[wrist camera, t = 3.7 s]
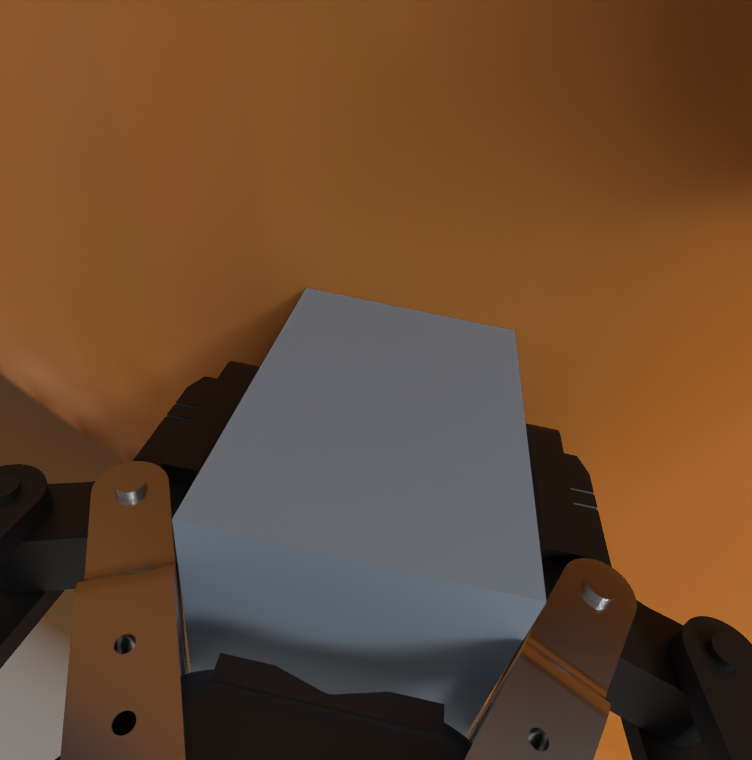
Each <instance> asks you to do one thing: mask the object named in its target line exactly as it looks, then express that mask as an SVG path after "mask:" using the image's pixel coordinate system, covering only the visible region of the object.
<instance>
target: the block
mask: <svg viewBox="0 0 752 760" xmlns="http://www.w3.org/2000/svg"><path fill="white" fill-rule="evenodd" d="M172 523H173V531H174V538H175V546H176V554H177V562H178V569H179V577H180V585H181V593H182V601H183V608H184V616H185V624H186V632H187V640H188V647H189V655H190V663H191V671H192V672H196V671H202V670H211V669H214V668H215V666H216V663H217V661H218V658H219V655H220V653H224V654H228V655H233V656H237V657H241V658H246V659H250V660H254V661H259V662H263V663H267V664H272V665H275V666H277V667H279V668H281V669H283V670H284V671H286V672H288V673H290V674H292V675H293V676H295V677H297V678H299V679H301V680H303V681H304V682H306V683H308V684H310V685H312V686H313V687H315V688H317V689H319V690H321V691H322V692H325V693H327V694H351V693H370V692H388V691H389V692H393V693H398V694H402V695H407V696H411V697H415V698H420V699H424V700H428V701H433V702H437V703H441V704H445V707H444V723H446V724H448V725H449V726H451V727H453V728H454V729H456V730H457V731H458V732H460V733H461V734H462V735H464V736H465V734H466V732H467V731H468V729H469V728H470V726H471V724H472V723H473V721H474V719H475V718H476V716H477V715H478V713H479V711H480V709H481V708H482V706H483V705H484V703H485V702H486V700H487V698H488V697H489V695H490V693H491V692H492V690H493V689H494V687H495V685H496V684H497V682H498V680H499V679H500V677H501V675H502V674H503V672H504V671H505V669H506V667H507V666H508V664H509V662H510V661H511V659H512V658H513V656H514V654H515V653H516V651H517V649H518V648H519V646H520V645H521V643H522V641H523V640H524V638H525V636H526V635H527V633H528V632H529V630H530V628H531V627H532V625H533V623H534V622H535V620H536V619H537V617H538V615H539V614H540V612H541V610H542V609H543V607H544V606H545V604H546V594H545V585H544V577H543V568H542V560H541V551H540V542H539V534H538V525H537V517H536V508H535V500H534V491H533V483H532V474H531V466H530V457H529V448H528V440H527V431H526V423H525V414H524V406H523V397H522V389H521V380H520V372H519V363H518V354H517V346H516V337H515V330H510V329H505V328H500V327H496V326H491V325H486V324H481V323H476V322H471V321H466V320H461V319H457V318H452V317H447V316H442V315H437V314H432V313H427V312H422V311H417V310H413V309H408V308H403V307H398V306H393V305H388V304H383V303H378V302H374V301H369V300H364V299H359V298H354V297H349V296H344V295H339V294H334V293H330V292H325V291H320V290H315V289H310V288H306V289H305V291H304V292H303V294H302V296H301V298H300V299H299V301H298V303H297V305H296V306H295V308H294V310H293V311H292V313H291V315H290V317H289V318H288V320H287V322H286V324H285V325H284V327H283V329H282V330H281V332H280V334H279V336H278V337H277V339H276V341H275V342H274V344H273V346H272V348H271V349H270V351H269V353H268V355H267V356H266V358H265V360H264V361H263V363H262V365H261V367H260V368H259V370H258V372H257V374H256V375H255V377H254V379H253V380H252V382H251V384H250V386H249V387H248V389H247V391H246V392H245V394H244V396H243V398H242V399H241V401H240V403H239V405H238V406H237V408H236V410H235V411H234V413H233V415H232V417H231V418H230V420H229V422H228V424H227V425H226V427H225V429H224V430H223V432H222V434H221V436H220V437H219V439H218V441H217V442H216V444H215V446H214V448H213V449H212V451H211V453H210V455H209V456H208V458H207V460H206V461H205V463H204V465H203V467H202V468H201V470H200V472H199V474H198V475H197V477H196V479H195V480H194V482H193V484H192V486H191V487H190V489H189V491H188V492H187V494H186V496H185V498H184V499H183V501H182V503H181V505H180V506H179V508H178V510H177V511H176V513H175V515H174V517H173V518H172Z"/></svg>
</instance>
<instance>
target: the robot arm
mask: <svg viewBox="0 0 752 760" xmlns="http://www.w3.org/2000/svg"><path fill="white" fill-rule="evenodd" d="M259 368H260V367H258V366H254V365H249V364H244V363H239V362H235V361H230V362H229V363H228V364H227V365H226V367H225V368H224V370H223V371H222V373H221V374H220V376H219V377H218V379H214V378H210V377H203V378H202V379H200V380H198V381H197V382H195V383H193V384H192V385H190V386H189V387H187V388H186V390H185V391H184V392H183V394H182V395H181V396H180V398H179V399H178V400H177V402H176V405H174V406H173V407H172V409H171V410H170V411H169V413H168V416H167V417H165V418H164V419H163V421H162V422H161V423H160V425H159V426H158V428H157V429H156V430H155V432H154V433H153V434H152V436H151V437H150V438H149V440H148V441H147V442H146V444H145V445H144V447H143V448H142V449H141V451H140V452H139V453H138V455H137V456H136V457H135V459H134V460H133V461H131V462H126V463H122V464H119V465H116V466H114V467H112V468H110V469H108V470H107V471H105V472H104V473H103V474H101V475H100V476H99V478H97V480H96V481H93V482H84V483H63V484H47V480H46V478H45V476H44V474H43V473H42V472H41V471H40V470H38V469H37V468H35V467H32V466H28V465H21V464H15V465H5V466H1V467H0V668H1V667H2V666H3V665H4V663H5V662H6V661H7V659H9V657H10V656H11V655H12V654H13V652H14V651H15V650H16V649H17V648H18V646H19V645H20V644H21V643H22V641H23V640H24V639H25V638H26V637H27V635H28V634H29V633H30V632H31V630H32V629H33V628H34V627H35V626H36V624H37V623H38V622H39V621H40V619H41V618H42V617H43V616H44V615H45V613H46V612H47V611H48V610H49V608H50V607H51V606H52V605H53V603H54V602H55V601H56V600H57V598H58V597H59V596H60V595H61V594H62V593H63V591H64V590H65V589H74V588H76V590H75V598H74V609H73V620H72V632H71V643H70V654H69V666H68V677H67V689H66V700H65V711H64V722H63V733H62V746H61V756H59V757H58V758H57V759H55V760H593V759H594V756H595V753H596V750H597V747H598V744H599V741H600V738H601V736H602V733H603V730H604V727H605V724H606V721H607V718H608V715H609V711H612V712H613V713H615V714H617V715H619V716H620V717H621V720H622V724H623V727H624V731H625V734H626V738H627V741H628V745H629V748H630V752H631V755H632V759H633V760H752V644H751V643H750V642H749V641H748V640H747V639H746V638H745V637H744V636H743V635H742V634H741V633H740V632H738V631H737V630H736V629H734V628H733V627H731V626H730V625H728V624H726V623H724V622H722V621H720V620H717V619H715V618H711V617H706V616H699V617H694V618H692V619H690V620H689V621H687V622H686V623H685V624H684V626H683V625H681V624H679V623H677V622H675V621H673V620H671V619H669V618H668V617H666V616H664V615H662V614H660V613H658V612H656V611H654V610H652V609H650V608H648V607H646V606H645V605H643V604H642V603H640V602H639V601H637V600H636V598H635V595H634V592H633V590H632V588H631V587H630V585H629V584H628V582H627V581H626V580H625V578H624V577H623V576H622V575H621V574H620V573H618V572H617V571H616V570H615V569H613V568H612V566H611V563H610V559H609V555H608V550H607V546H606V542H605V538H604V534H603V529H602V525H601V521H600V517H599V513H598V510H596V509H597V504H596V500H595V496H594V495H593V488H592V483H591V479H590V475H589V473H588V471H587V470H586V469H585V467H584V466H583V464H582V463H581V461H580V460H579V459H578V457H577V456H574V455H570V454H565V453H564V452H563V447H562V442H561V437H560V433H559V431H558V430H555V429H550V428H545V427H540V426H536V425H531V424H526V431H527V440H528V448H529V457H530V466H531V474H532V483H533V491H534V500H535V508H536V517H537V525H538V534H539V542H540V551H541V560H542V568H543V577H544V585H545V594H546V604H545V606H544V607H543V609H542V610H541V612H540V614H539V615H538V617H537V619H536V620H535V622H534V623H533V625H532V627H531V628H530V630H529V632H528V633H527V635H526V636H525V638H524V640H523V641H522V643H521V645H520V646H519V648H518V649H517V651H516V653H515V654H514V656H513V658H512V659H511V661H510V662H509V664H508V666H507V667H506V669H505V671H504V672H503V674H502V676H501V678H500V679H499V681H498V683H497V685H496V687H495V689H494V691H493V692H492V694H491V696H490V698H489V700H488V702H487V703H486V705H485V707H484V709H483V711H482V713H481V714H480V716H479V718H478V720H477V721H476V723H475V725H474V727H473V728H472V730H471V732H470V734H469V735H468V737H467V738H466V737H465V736H464V735H462V734H461V733H460V732H458V731H457V730H456V729H454V728H453V727H451V726H449V725H448V724H446V723H444V707H445V704H441V703H437V702H433V701H428V700H424V699H420V698H415V697H411V696H407V695H402V694H398V693H393V692H389V691H388V692H370V693H351V694H327V693H325V692H322V691H321V690H319V689H317V688H315V687H313V686H312V685H310V684H308V683H306V682H304V681H303V680H301V679H299V678H297V677H295V676H293V675H292V674H290V673H288V672H286V671H284V670H283V669H281V668H279V667H277V666H275V665H272V664H267V663H263V662H259V661H254V660H250V659H246V658H241V657H237V656H233V655H228V654H224V653H220V655H219V658H218V661H217V663H216V666H215V668H214V669H211V670H202V671H196V672H191V673H188V667H187V657H186V648H185V635H184V621H183V607H182V594H181V585H180V577H179V569H178V562H177V554H176V546H175V538H174V531H173V523H172V518H173V517H174V515H175V513H176V511H177V510H178V508H179V506H180V505H181V503H182V501H183V499H184V498H185V496H186V494H187V492H188V491H189V489H190V487H191V486H192V484H193V482H194V480H195V479H196V477H197V475H198V474H199V472H200V470H201V468H202V467H203V465H204V463H205V461H206V460H207V458H208V456H209V455H210V453H211V451H212V449H213V448H214V446H215V444H216V442H217V441H218V439H219V437H220V436H221V434H222V432H223V430H224V429H225V427H226V425H227V424H228V422H229V420H230V418H231V417H232V415H233V413H234V411H235V410H236V408H237V406H238V405H239V403H240V401H241V399H242V398H243V396H244V394H245V392H246V391H247V389H248V387H249V386H250V384H251V382H252V380H253V379H254V377H255V375H256V374H257V372H258V370H259Z"/></svg>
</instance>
